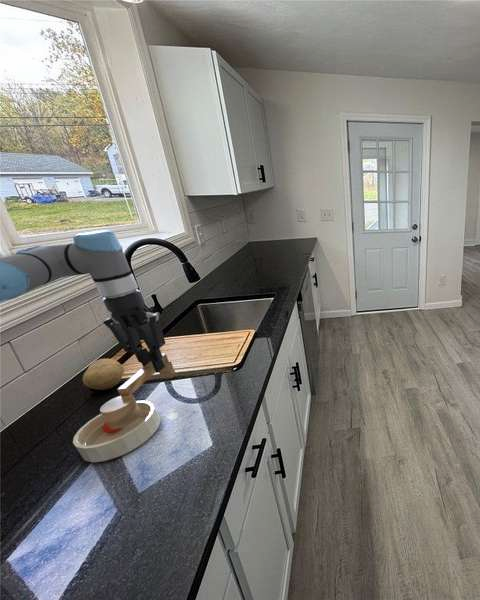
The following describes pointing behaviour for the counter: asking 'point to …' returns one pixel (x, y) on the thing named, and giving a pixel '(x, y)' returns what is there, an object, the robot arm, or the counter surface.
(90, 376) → the potato
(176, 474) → the counter surface
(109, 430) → the tomato
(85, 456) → the bowl
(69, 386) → the counter surface
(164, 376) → the ladle
